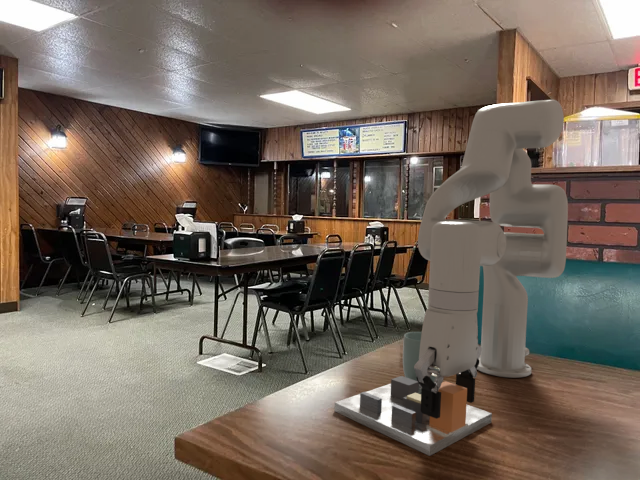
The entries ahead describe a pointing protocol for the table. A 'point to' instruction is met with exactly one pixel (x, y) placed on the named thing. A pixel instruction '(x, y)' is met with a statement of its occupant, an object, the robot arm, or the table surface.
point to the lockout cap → (451, 407)
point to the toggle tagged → (415, 407)
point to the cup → (412, 354)
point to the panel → (406, 420)
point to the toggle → (403, 387)
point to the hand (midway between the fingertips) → (448, 407)
